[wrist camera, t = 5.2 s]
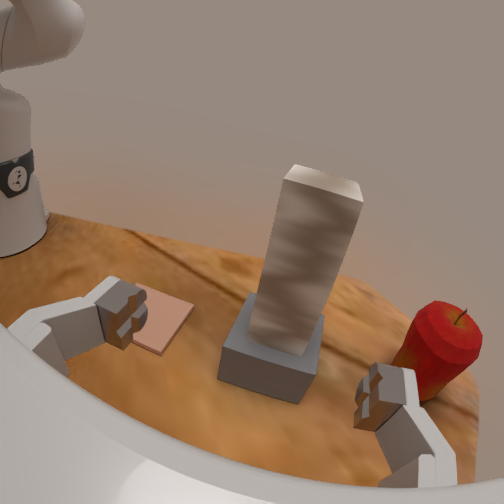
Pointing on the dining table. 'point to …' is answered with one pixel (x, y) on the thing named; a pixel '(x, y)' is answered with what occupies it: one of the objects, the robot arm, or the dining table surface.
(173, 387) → the dining table surface
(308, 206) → the cream block
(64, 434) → the robot arm
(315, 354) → the charcoal plinth
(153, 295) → the terracotta tile
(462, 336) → the apple
